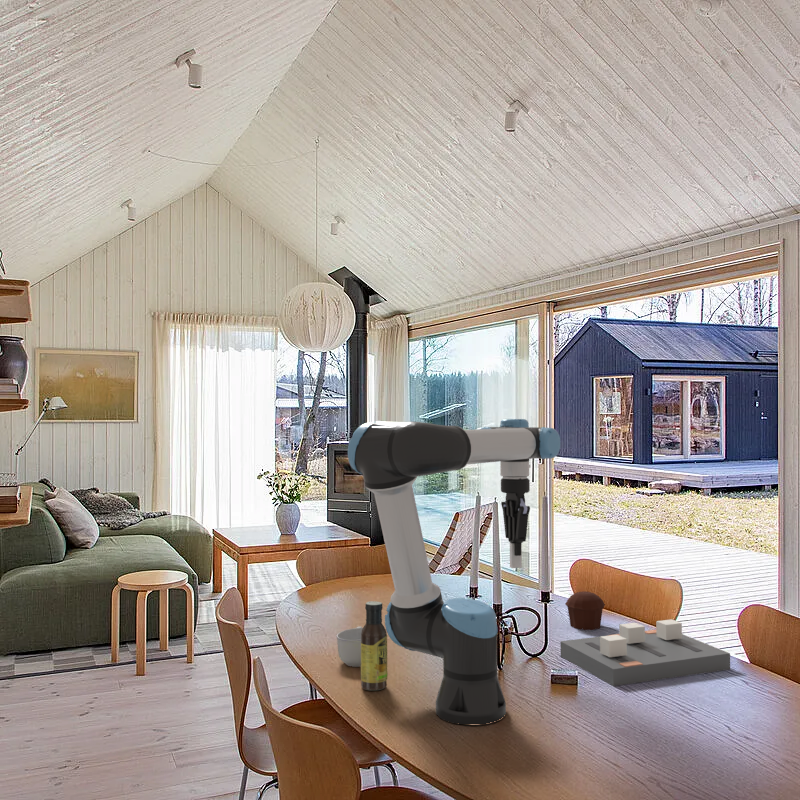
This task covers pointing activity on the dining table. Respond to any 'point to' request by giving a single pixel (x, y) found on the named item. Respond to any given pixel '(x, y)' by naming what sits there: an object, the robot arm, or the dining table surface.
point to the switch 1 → (613, 645)
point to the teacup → (350, 646)
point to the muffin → (585, 610)
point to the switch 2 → (669, 629)
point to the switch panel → (646, 659)
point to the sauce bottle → (373, 649)
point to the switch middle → (632, 632)
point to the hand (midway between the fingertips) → (515, 567)
